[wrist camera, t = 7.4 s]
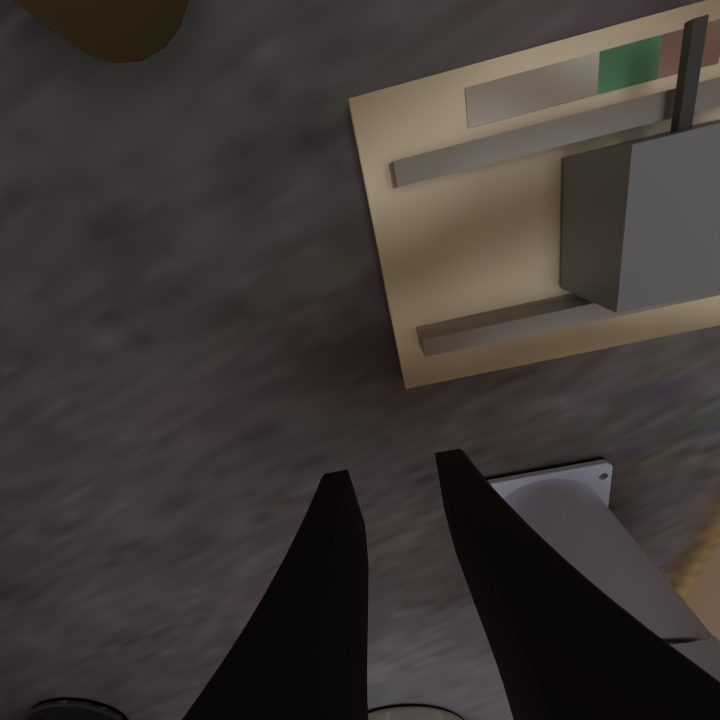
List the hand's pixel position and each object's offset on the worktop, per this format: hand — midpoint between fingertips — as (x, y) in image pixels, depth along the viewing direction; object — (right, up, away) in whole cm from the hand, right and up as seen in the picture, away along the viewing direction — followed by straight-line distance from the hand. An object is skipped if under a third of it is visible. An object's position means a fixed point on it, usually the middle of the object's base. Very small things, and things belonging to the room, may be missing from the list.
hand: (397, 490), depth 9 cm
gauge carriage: (+9, +10, +4) cm, 14 cm away
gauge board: (+9, +10, +6) cm, 15 cm away
